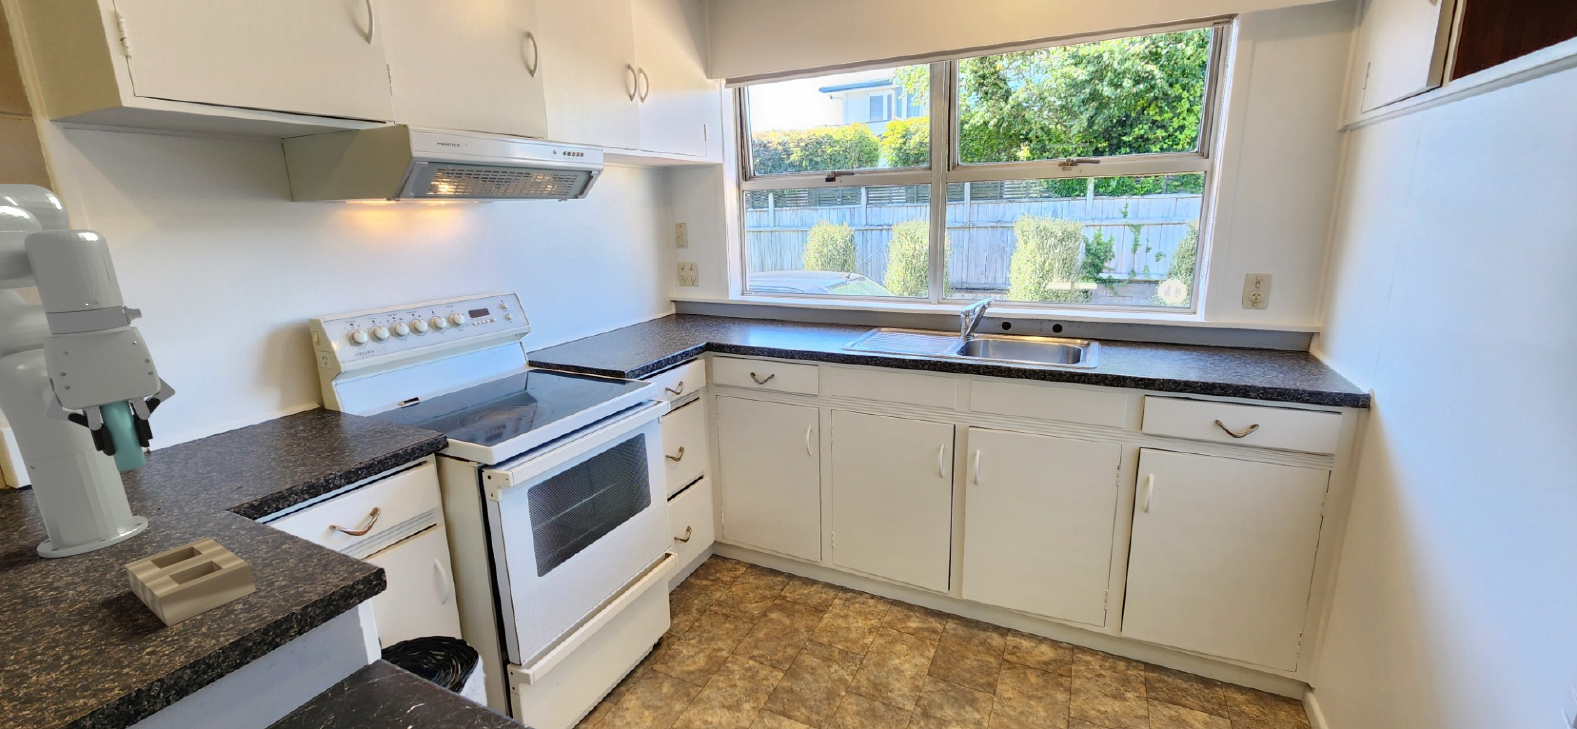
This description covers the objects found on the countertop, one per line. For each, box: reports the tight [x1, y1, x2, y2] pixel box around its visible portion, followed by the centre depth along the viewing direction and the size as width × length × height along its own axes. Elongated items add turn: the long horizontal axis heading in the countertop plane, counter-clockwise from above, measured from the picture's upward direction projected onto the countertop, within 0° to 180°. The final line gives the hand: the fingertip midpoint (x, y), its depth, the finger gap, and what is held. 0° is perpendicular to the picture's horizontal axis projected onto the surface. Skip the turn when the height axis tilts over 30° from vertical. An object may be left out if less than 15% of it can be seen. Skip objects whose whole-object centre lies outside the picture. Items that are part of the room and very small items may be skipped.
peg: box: [99, 401, 147, 472], centre depth 93 cm, size 3×3×10 cm
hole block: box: [123, 536, 257, 627], centre depth 89 cm, size 16×9×4 cm, turn 56°
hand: (126, 448), depth 94 cm, fingers closed on peg, 3 cm apart
